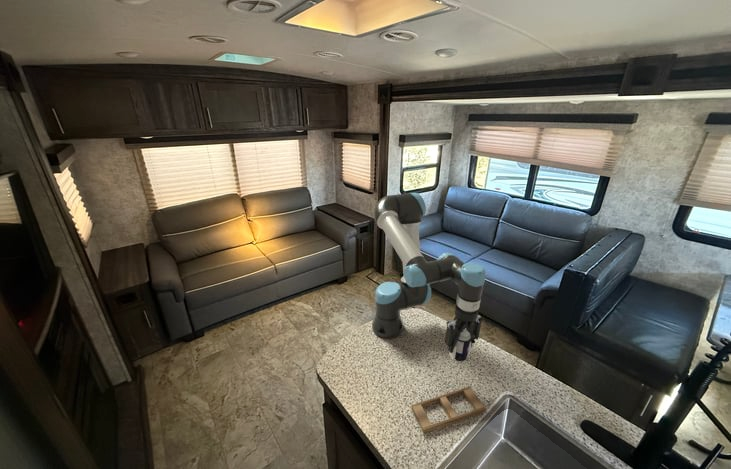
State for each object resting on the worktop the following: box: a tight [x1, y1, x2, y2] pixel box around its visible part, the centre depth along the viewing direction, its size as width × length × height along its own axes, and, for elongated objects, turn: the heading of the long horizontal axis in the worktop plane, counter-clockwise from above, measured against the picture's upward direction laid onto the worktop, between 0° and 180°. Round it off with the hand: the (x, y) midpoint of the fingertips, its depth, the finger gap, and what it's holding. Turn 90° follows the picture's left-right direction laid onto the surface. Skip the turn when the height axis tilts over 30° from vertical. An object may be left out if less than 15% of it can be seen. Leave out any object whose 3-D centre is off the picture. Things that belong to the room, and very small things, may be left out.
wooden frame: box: [410, 386, 487, 435], centre depth 99 cm, size 9×24×2 cm, turn 107°
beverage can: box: [454, 328, 471, 362], centre depth 105 cm, size 6×6×12 cm
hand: (458, 355), depth 107 cm, fingers closed on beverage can, 6 cm apart
